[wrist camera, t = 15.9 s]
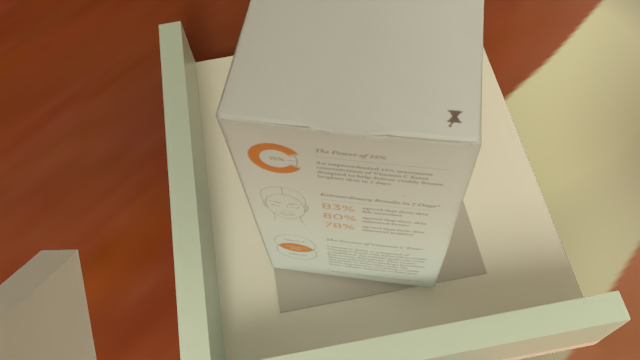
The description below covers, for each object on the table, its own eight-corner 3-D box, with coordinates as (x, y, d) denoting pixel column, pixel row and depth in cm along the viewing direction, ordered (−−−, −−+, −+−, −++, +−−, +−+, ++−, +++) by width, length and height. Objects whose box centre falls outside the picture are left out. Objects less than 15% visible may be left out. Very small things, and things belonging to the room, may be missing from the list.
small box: (443, 174, 32) (492, -15, 20) (435, 291, 29) (486, 148, 17) (290, 158, 33) (254, -32, 21) (267, 269, 30) (211, 120, 18)
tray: (179, 74, 37) (158, 25, 33) (468, 23, 38) (480, -31, 34) (207, 420, 27) (183, 406, 24) (594, 344, 28) (631, 319, 24)
